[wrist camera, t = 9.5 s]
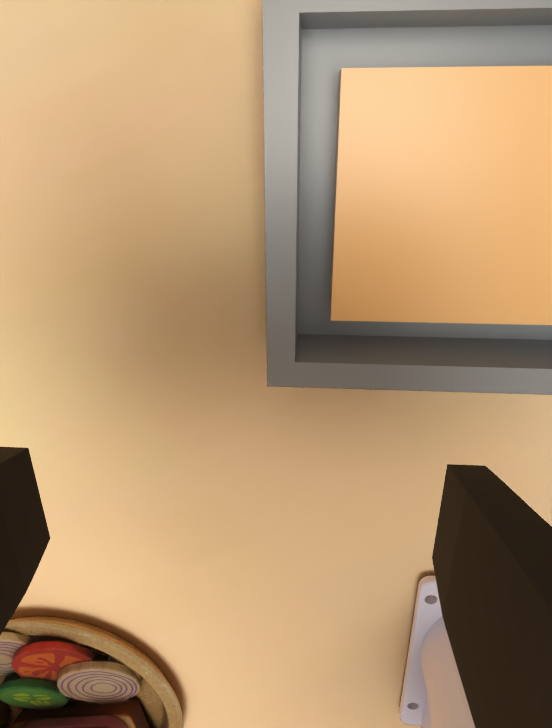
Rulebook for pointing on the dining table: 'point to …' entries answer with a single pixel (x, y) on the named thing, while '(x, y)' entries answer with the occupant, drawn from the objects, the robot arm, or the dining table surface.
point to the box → (408, 194)
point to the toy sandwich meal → (79, 679)
